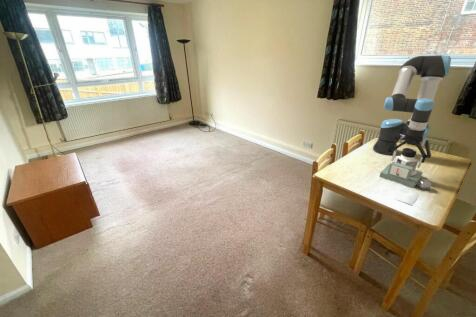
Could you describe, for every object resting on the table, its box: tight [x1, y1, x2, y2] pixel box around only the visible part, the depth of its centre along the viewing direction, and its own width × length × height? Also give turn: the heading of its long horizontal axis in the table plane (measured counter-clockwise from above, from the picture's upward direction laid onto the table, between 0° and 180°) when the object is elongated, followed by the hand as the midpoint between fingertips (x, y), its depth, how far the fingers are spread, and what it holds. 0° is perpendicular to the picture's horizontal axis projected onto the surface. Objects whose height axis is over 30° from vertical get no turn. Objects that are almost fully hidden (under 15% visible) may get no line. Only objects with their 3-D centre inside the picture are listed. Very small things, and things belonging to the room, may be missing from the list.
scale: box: [379, 161, 424, 188], centre depth 130 cm, size 18×17×10 cm
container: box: [394, 147, 419, 172], centre depth 129 cm, size 8×8×13 cm
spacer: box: [416, 178, 432, 192], centre depth 121 cm, size 5×5×4 cm
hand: (405, 163), depth 130 cm, fingers open, 12 cm apart
